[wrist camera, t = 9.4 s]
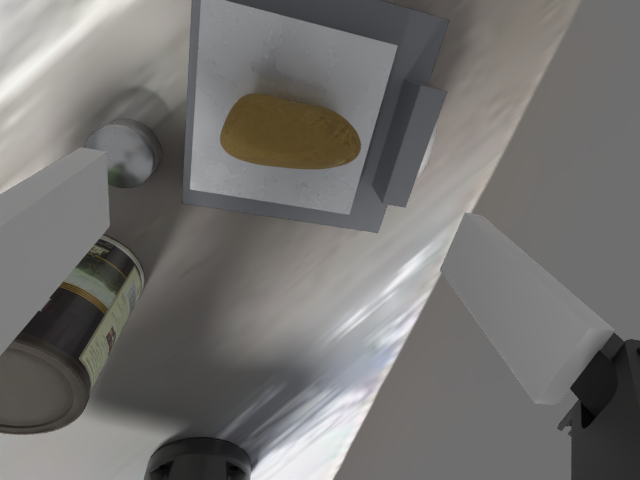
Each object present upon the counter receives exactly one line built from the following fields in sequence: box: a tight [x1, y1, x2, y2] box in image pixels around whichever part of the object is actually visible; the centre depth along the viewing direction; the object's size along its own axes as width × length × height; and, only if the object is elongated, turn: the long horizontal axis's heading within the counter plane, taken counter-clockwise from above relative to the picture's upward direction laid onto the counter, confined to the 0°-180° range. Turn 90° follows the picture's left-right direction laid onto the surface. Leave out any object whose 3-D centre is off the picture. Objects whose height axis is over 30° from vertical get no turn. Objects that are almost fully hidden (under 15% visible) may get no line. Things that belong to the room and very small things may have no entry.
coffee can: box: [0, 235, 144, 435], centre depth 32 cm, size 10×10×14 cm
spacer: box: [85, 119, 161, 188], centre depth 31 cm, size 5×5×3 cm
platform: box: [190, 0, 398, 215], centre depth 27 cm, size 13×13×1 cm
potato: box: [220, 93, 361, 169], centre depth 24 cm, size 7×8×8 cm
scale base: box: [182, 0, 449, 233], centre depth 29 cm, size 18×19×7 cm
